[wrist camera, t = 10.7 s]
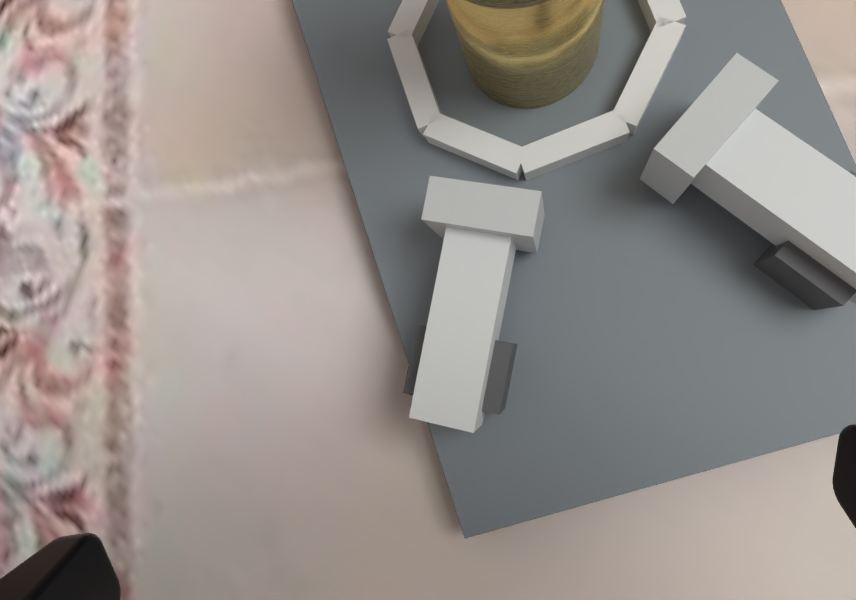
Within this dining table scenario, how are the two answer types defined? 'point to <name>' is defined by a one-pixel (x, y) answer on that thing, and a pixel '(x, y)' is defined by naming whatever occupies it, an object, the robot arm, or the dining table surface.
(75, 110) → the dining table surface
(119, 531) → the dining table surface
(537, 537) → the dining table surface
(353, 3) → the base
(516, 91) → the coupler
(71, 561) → the robot arm
